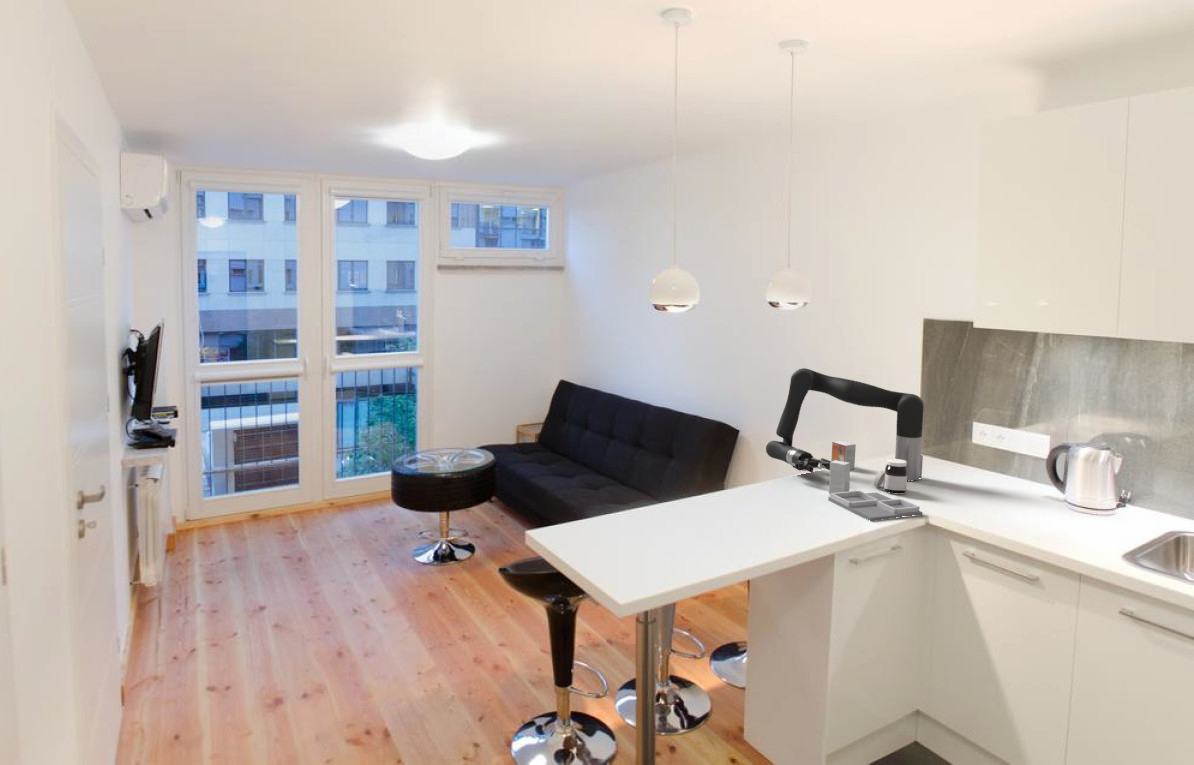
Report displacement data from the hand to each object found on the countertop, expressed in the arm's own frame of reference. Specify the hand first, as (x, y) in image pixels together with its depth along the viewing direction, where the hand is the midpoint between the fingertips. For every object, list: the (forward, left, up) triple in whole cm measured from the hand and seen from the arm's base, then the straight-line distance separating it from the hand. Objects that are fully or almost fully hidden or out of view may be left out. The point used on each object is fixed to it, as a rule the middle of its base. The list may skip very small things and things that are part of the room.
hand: (822, 468), depth 280 cm
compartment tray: (-2, +29, -7) cm, 29 cm away
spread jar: (-21, +12, -7) cm, 25 cm away
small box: (-24, -22, -7) cm, 33 cm away
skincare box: (0, +11, -7) cm, 13 cm away
